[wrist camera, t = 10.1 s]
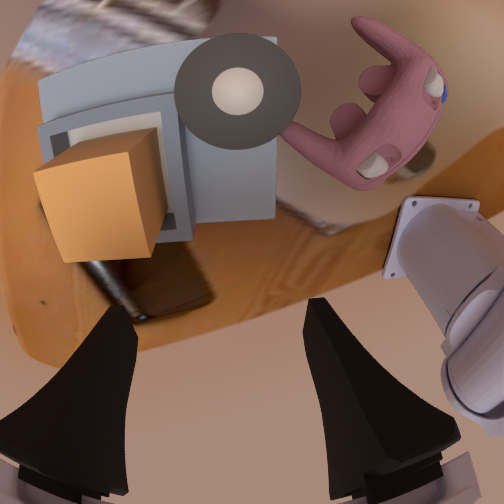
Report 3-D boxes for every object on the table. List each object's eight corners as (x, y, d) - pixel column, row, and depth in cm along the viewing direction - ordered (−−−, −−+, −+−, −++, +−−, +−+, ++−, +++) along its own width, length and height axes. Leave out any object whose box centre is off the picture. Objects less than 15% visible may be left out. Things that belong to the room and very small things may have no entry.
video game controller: (308, 153, 19) (379, 218, 15) (262, 128, 15) (341, 198, 11) (384, 49, 14) (471, 91, 10) (351, 7, 11) (456, 38, 7)
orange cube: (156, 127, 14) (128, 151, 10) (168, 207, 17) (150, 257, 13) (78, 141, 13) (32, 172, 9) (96, 215, 16) (64, 262, 12)
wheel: (283, 43, 11) (301, 34, 8) (283, 131, 14) (299, 148, 11) (184, 47, 11) (170, 38, 8) (189, 135, 14) (179, 154, 11)
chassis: (272, 40, 13) (284, 31, 10) (271, 208, 19) (280, 236, 16) (50, 78, 12) (19, 84, 9) (81, 223, 18) (61, 250, 15)
